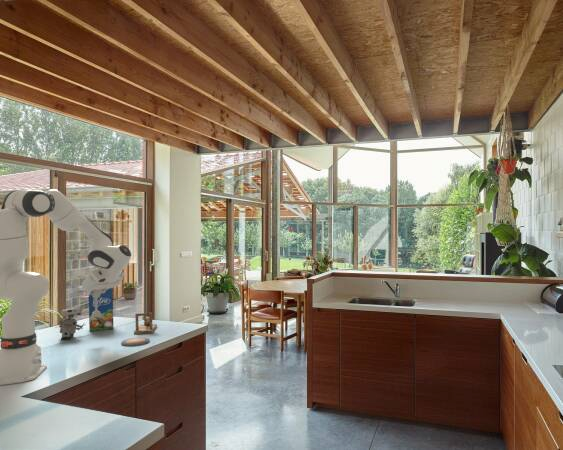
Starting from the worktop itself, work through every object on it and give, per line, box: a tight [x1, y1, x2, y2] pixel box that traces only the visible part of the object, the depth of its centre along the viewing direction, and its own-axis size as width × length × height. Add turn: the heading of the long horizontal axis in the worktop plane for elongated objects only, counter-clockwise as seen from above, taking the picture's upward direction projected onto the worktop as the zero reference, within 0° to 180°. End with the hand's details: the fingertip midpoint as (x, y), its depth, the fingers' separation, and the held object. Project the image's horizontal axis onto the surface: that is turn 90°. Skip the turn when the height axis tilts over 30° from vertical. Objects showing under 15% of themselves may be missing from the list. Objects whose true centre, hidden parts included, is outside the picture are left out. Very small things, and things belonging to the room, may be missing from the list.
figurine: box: [58, 306, 85, 341], centre depth 222 cm, size 9×12×15 cm
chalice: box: [91, 289, 102, 317], centre depth 210 cm, size 7×7×18 cm
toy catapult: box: [133, 312, 158, 335], centre depth 234 cm, size 16×9×10 cm, turn 7°
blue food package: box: [88, 287, 114, 332], centre depth 239 cm, size 6×12×25 cm, turn 117°
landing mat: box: [120, 337, 151, 347], centre depth 208 cm, size 13×13×1 cm
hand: (95, 293), depth 210 cm, fingers closed on chalice, 6 cm apart
